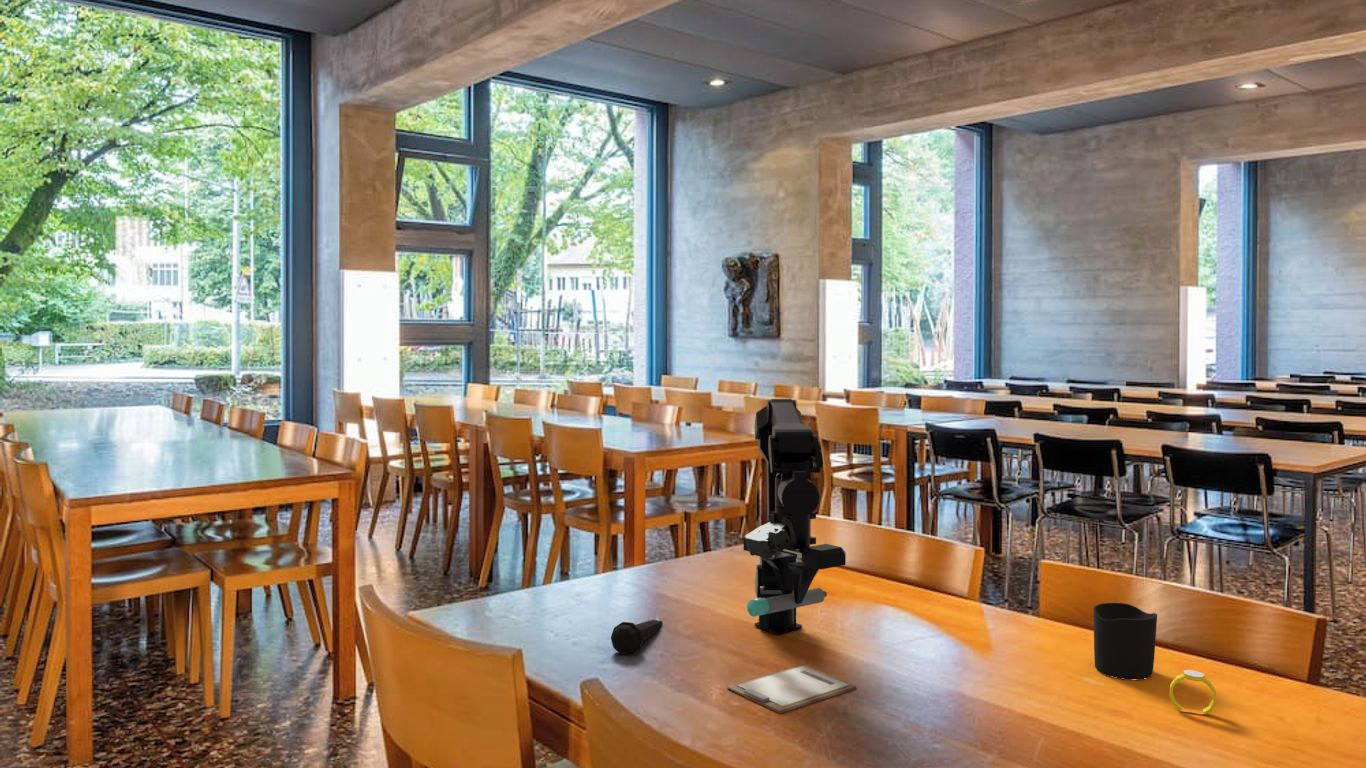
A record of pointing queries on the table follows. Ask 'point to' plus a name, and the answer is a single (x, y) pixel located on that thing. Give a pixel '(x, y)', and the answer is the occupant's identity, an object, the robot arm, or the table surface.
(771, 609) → the marker
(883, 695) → the table surface
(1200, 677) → the watch
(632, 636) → the microphone
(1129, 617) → the pen holder
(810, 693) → the clipboard
